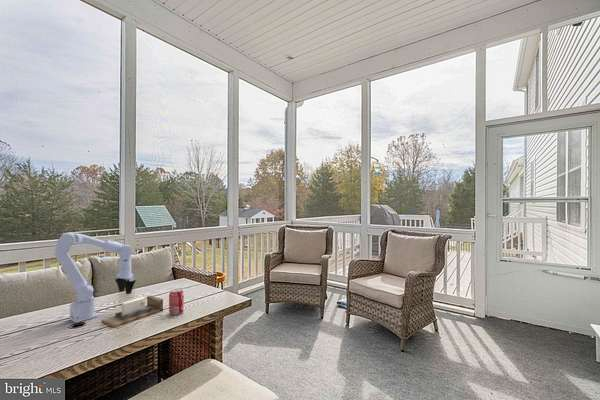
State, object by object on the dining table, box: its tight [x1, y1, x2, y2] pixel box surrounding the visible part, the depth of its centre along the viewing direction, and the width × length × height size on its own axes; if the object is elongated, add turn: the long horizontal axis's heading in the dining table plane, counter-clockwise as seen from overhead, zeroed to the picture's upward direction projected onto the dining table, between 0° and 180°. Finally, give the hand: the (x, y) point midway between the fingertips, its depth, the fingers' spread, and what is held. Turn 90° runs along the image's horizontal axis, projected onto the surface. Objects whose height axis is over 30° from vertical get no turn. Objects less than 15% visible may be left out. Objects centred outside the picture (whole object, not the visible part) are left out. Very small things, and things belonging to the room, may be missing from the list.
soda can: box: [168, 288, 185, 316], centre depth 146 cm, size 7×7×12 cm
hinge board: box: [101, 295, 164, 329], centre depth 142 cm, size 24×12×6 cm, turn 147°
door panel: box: [121, 296, 146, 315], centre depth 142 cm, size 10×4×7 cm, turn 147°
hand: (125, 292), depth 150 cm, fingers open, 7 cm apart
